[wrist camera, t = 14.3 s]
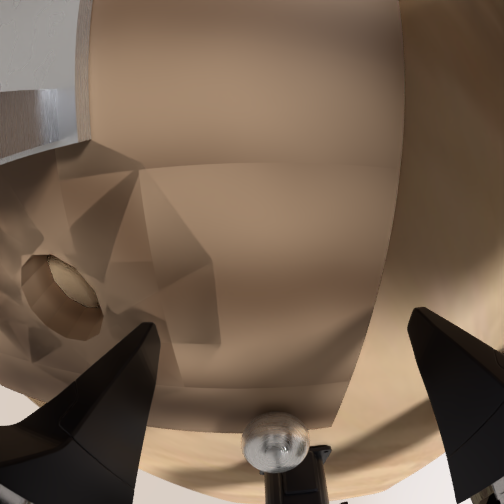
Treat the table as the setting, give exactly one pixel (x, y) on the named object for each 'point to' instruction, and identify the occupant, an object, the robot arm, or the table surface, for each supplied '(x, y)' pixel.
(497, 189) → the table surface
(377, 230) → the wooden cutting board
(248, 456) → the ball
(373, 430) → the table surface
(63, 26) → the cover
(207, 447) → the table surface
